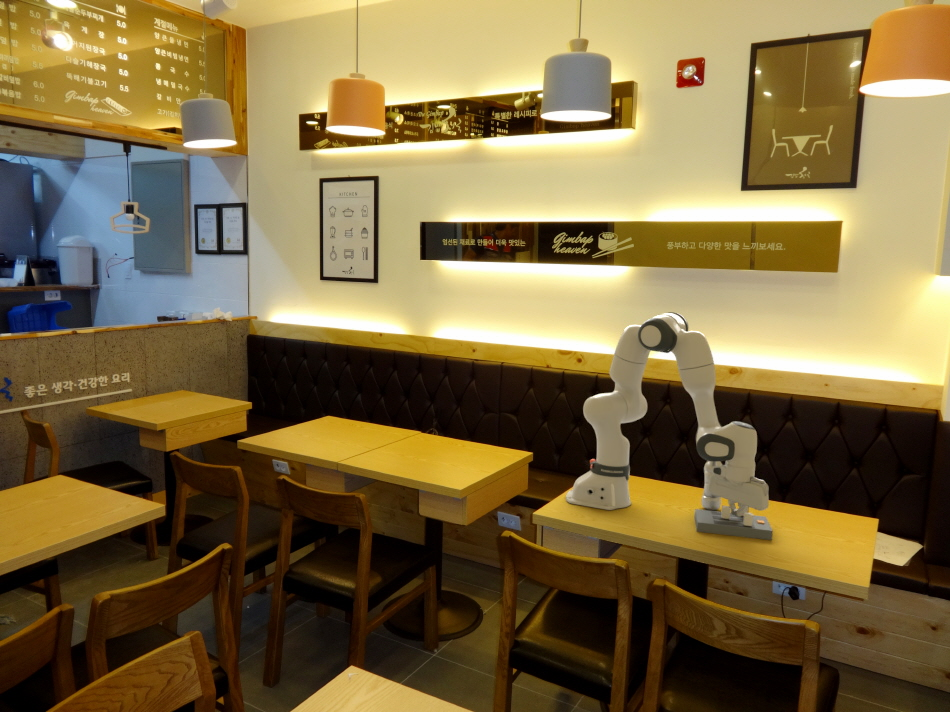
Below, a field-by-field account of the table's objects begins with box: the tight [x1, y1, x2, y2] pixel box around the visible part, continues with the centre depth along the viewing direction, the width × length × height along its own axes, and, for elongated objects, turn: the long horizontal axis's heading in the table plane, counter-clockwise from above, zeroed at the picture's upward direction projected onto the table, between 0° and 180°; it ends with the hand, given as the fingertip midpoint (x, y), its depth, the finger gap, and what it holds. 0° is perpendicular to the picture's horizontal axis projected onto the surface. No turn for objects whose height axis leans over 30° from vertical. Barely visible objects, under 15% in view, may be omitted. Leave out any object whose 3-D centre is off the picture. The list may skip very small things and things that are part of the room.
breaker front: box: [743, 512, 754, 526], centre depth 217 cm, size 2×2×4 cm
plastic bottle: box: [701, 460, 723, 511], centre depth 240 cm, size 6×7×20 cm
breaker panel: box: [694, 508, 773, 541], centre depth 223 cm, size 22×13×3 cm, turn 76°
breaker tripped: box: [720, 505, 731, 519], centre depth 223 cm, size 2×2×4 cm
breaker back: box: [741, 506, 750, 516], centre depth 226 cm, size 2×2×4 cm
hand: (735, 515), depth 223 cm, fingers closed
